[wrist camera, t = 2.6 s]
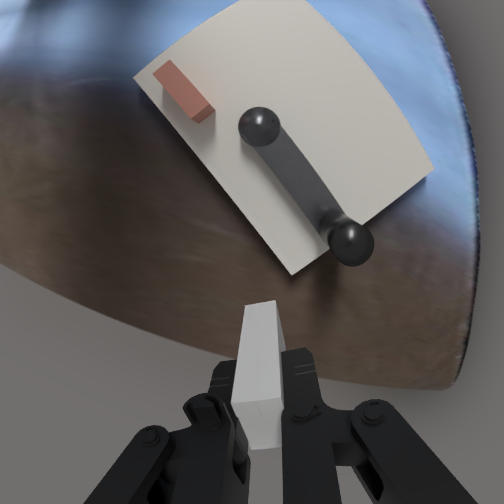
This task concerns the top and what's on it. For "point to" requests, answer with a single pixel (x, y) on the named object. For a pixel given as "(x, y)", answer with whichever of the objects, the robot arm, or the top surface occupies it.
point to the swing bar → (305, 186)
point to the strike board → (286, 116)
